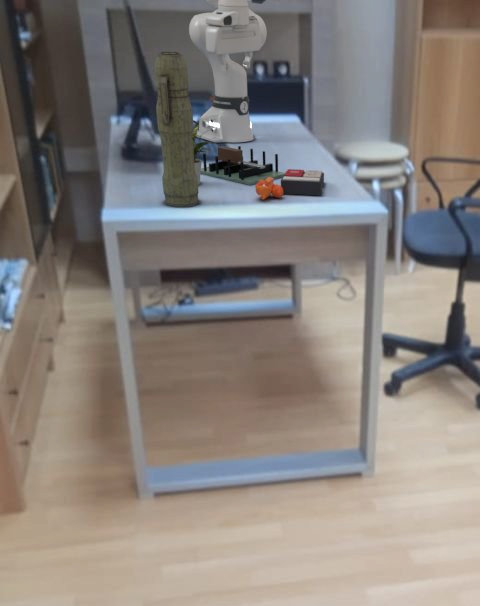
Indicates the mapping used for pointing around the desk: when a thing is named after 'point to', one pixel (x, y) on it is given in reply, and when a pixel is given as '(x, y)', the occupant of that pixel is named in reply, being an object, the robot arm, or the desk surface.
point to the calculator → (302, 182)
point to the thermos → (176, 130)
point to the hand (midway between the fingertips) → (235, 69)
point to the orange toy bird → (268, 188)
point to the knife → (235, 157)
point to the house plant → (196, 150)
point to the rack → (241, 170)
